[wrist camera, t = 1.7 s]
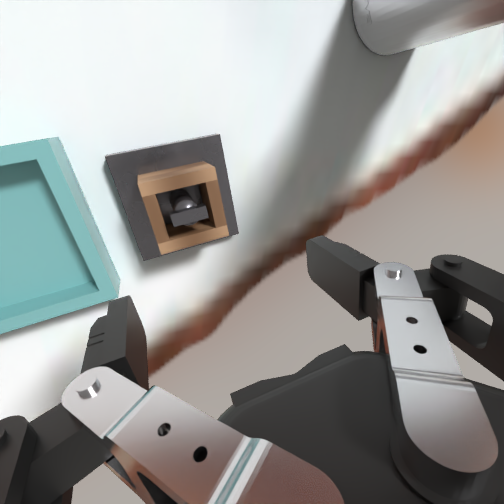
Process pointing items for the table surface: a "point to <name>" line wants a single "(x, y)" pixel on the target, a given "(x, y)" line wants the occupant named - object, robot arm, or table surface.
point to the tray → (47, 238)
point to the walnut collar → (175, 179)
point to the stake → (174, 201)
